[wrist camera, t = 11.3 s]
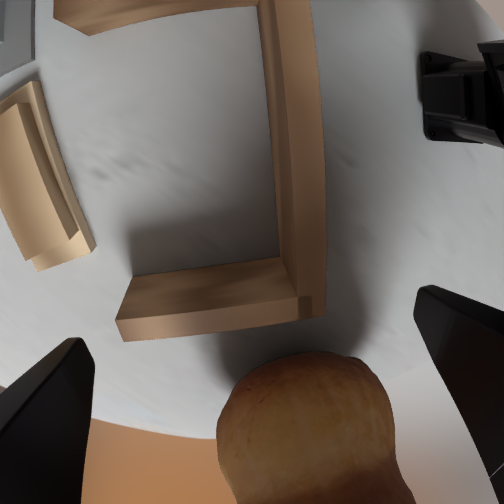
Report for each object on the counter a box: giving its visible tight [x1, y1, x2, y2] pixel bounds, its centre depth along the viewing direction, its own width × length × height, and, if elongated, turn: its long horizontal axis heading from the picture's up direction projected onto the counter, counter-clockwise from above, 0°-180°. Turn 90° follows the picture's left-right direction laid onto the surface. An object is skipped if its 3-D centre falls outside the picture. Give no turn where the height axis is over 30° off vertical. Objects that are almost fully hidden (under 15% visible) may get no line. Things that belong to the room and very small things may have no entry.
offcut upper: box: [0, 103, 79, 260], centre depth 15 cm, size 4×9×2 cm, turn 17°
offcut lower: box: [0, 81, 96, 272], centre depth 17 cm, size 5×12×2 cm, turn 14°
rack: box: [53, 0, 327, 342], centre depth 15 cm, size 12×20×5 cm, turn 6°
